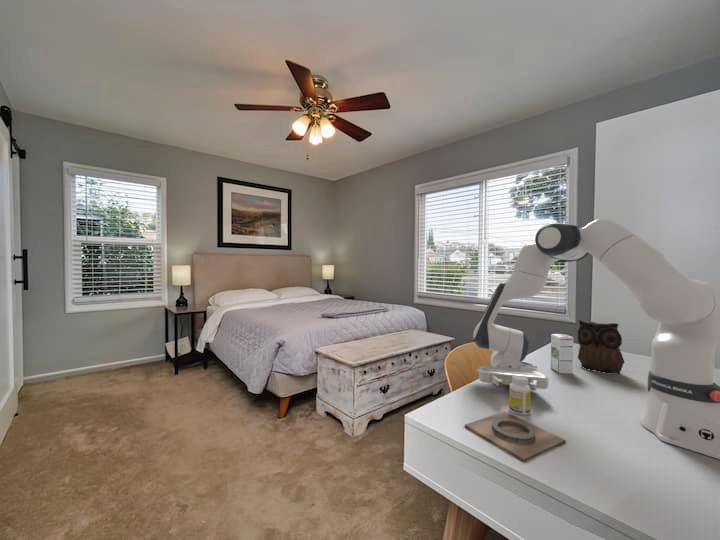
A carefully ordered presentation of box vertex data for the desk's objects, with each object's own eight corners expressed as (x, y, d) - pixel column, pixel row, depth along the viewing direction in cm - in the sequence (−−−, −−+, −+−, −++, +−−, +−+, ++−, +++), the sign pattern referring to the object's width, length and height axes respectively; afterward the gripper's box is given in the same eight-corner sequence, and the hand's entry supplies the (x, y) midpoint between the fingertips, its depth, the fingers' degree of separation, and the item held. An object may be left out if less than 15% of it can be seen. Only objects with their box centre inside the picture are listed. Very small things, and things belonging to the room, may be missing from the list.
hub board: (565, 442, 73) (565, 435, 73) (523, 462, 65) (523, 454, 65) (505, 413, 87) (505, 407, 87) (464, 426, 79) (465, 420, 79)
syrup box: (573, 373, 121) (574, 337, 121) (558, 373, 121) (559, 336, 121) (564, 368, 127) (565, 333, 127) (549, 368, 127) (550, 333, 127)
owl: (625, 375, 120) (627, 324, 120) (591, 374, 121) (592, 323, 121) (603, 365, 133) (604, 318, 132) (572, 363, 134) (573, 318, 134)
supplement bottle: (525, 407, 91) (526, 374, 91) (533, 416, 86) (534, 381, 86) (506, 406, 92) (506, 373, 92) (513, 415, 86) (514, 380, 86)
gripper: (476, 359, 110) (480, 371, 96) (541, 365, 104) (554, 379, 91) (476, 376, 110) (479, 391, 97) (540, 383, 104) (553, 400, 91)
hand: (516, 385), depth 94 cm, fingers open, 8 cm apart
